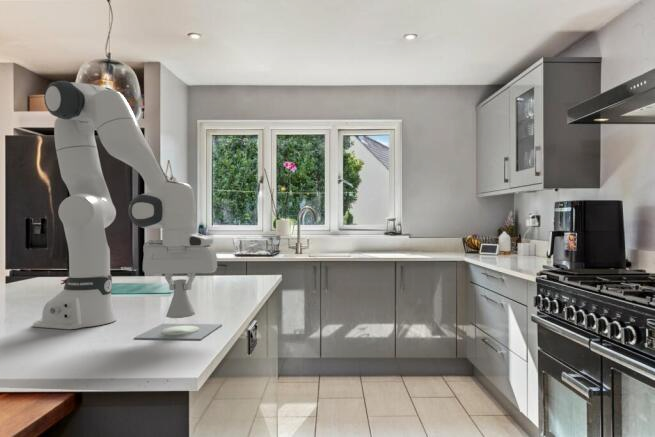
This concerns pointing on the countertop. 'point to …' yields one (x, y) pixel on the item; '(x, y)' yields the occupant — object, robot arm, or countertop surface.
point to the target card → (179, 332)
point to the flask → (180, 302)
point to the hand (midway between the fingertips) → (180, 289)
